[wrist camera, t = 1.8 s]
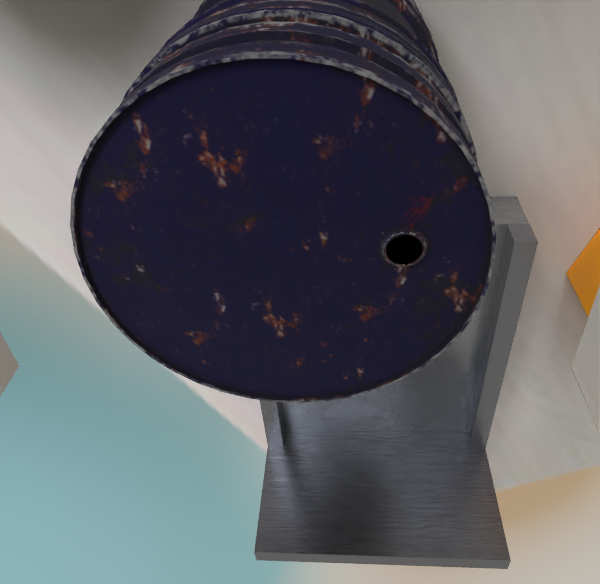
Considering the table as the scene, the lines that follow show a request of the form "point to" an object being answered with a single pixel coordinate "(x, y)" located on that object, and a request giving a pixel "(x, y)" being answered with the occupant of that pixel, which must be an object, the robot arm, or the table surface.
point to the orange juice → (587, 273)
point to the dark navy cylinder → (288, 201)
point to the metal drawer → (402, 448)
